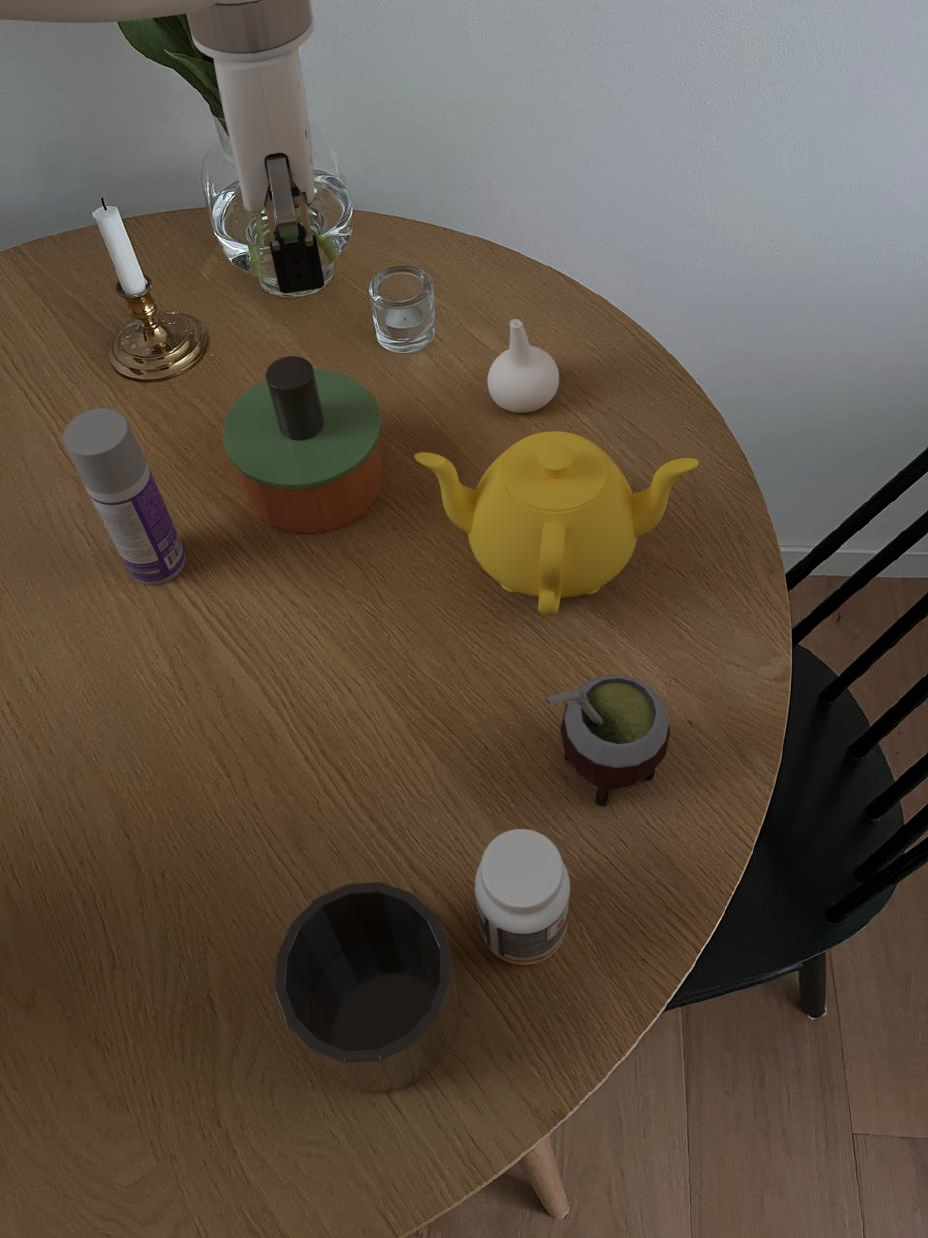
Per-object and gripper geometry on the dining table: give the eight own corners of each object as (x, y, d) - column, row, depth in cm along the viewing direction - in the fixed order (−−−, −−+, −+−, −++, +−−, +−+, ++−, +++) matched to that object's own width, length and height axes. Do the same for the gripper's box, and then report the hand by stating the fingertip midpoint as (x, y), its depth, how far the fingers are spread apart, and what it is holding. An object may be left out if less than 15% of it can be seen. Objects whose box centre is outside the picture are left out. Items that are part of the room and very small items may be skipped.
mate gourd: (667, 733, 75) (697, 615, 62) (648, 835, 71) (675, 730, 58) (564, 710, 76) (573, 590, 64) (539, 809, 72) (543, 701, 60)
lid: (198, 472, 83) (175, 411, 78) (268, 365, 90) (252, 302, 84) (344, 511, 80) (331, 451, 75) (406, 398, 87) (398, 334, 81)
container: (167, 529, 87) (108, 396, 75) (197, 563, 85) (142, 432, 73) (117, 559, 86) (49, 429, 73) (146, 595, 84) (81, 467, 71)
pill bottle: (582, 906, 68) (591, 848, 60) (540, 985, 66) (543, 936, 57) (505, 864, 70) (503, 802, 62) (461, 939, 67) (453, 885, 59)
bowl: (222, 513, 88) (204, 464, 83) (283, 416, 94) (269, 365, 89) (350, 548, 85) (339, 500, 80) (404, 446, 91) (397, 395, 86)
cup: (277, 1058, 64) (245, 1023, 56) (341, 911, 69) (319, 860, 61) (424, 1118, 62) (412, 1089, 54) (480, 961, 67) (475, 915, 59)
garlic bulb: (567, 411, 93) (571, 340, 86) (497, 425, 92) (496, 355, 85) (547, 362, 96) (549, 291, 89) (480, 375, 96) (477, 304, 89)
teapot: (416, 636, 80) (402, 544, 71) (432, 486, 88) (422, 385, 79) (683, 646, 79) (706, 552, 69) (675, 492, 87) (694, 390, 77)
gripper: (182, -54, 69) (239, 184, 83) (190, 90, 59) (253, 331, 73) (298, -68, 69) (335, 171, 83) (324, 72, 59) (361, 315, 74)
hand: (296, 245), depth 78 cm, fingers open, 9 cm apart
